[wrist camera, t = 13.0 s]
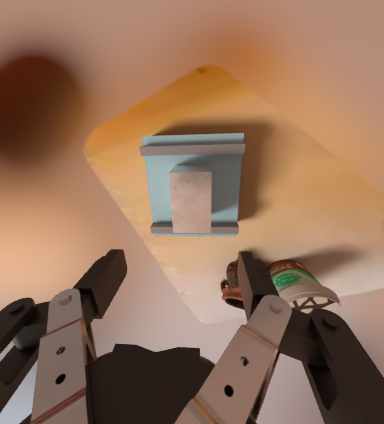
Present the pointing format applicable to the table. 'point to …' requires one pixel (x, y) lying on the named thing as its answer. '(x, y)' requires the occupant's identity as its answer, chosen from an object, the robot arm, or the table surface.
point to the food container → (300, 287)
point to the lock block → (191, 198)
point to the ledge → (195, 154)
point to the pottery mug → (234, 294)
